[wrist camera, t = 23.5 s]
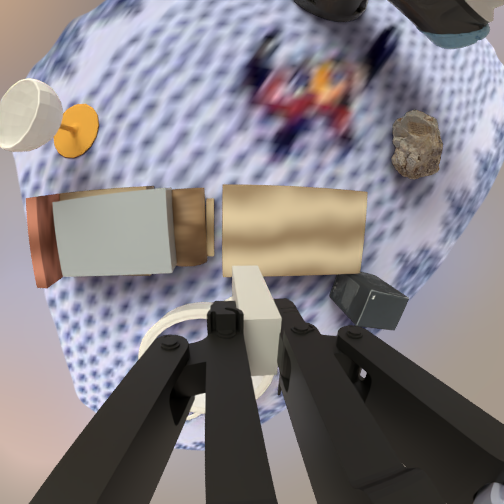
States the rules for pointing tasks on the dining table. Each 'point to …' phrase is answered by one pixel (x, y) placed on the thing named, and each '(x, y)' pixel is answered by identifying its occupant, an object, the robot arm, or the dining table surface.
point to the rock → (416, 145)
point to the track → (245, 230)
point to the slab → (116, 234)
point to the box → (368, 300)
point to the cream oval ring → (189, 313)
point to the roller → (189, 226)
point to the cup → (44, 120)
